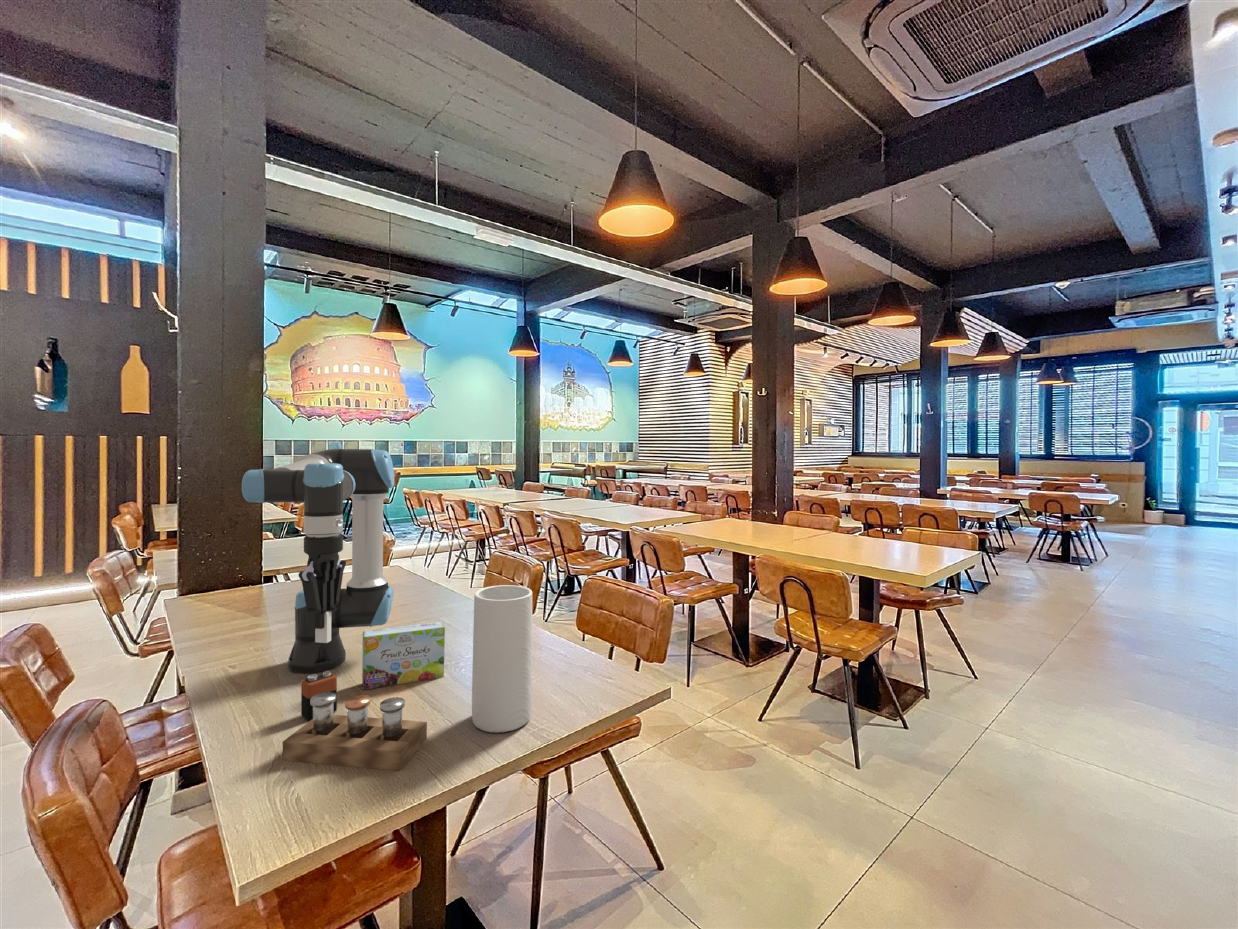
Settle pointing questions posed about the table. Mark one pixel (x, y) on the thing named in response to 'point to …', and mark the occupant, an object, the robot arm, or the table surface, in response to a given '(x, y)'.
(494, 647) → the vase
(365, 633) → the snack box
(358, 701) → the plug mid
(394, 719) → the plug
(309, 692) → the battery
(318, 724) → the plug
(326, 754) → the wooden jar holder
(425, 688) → the table surface
